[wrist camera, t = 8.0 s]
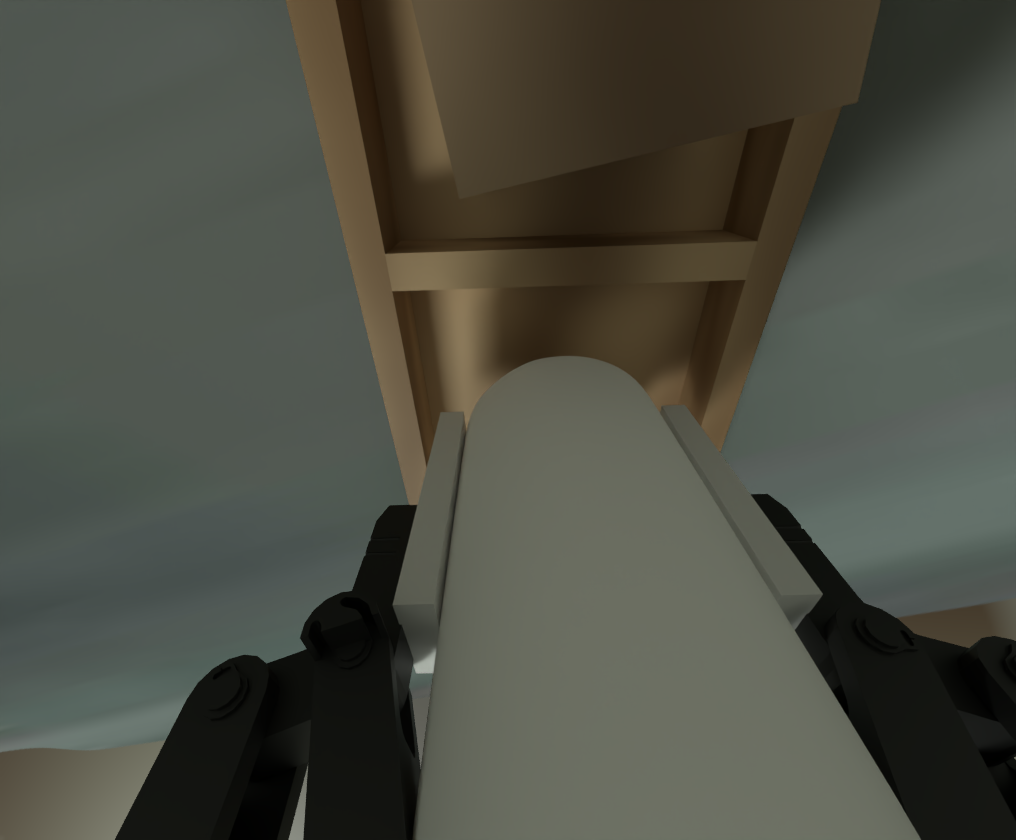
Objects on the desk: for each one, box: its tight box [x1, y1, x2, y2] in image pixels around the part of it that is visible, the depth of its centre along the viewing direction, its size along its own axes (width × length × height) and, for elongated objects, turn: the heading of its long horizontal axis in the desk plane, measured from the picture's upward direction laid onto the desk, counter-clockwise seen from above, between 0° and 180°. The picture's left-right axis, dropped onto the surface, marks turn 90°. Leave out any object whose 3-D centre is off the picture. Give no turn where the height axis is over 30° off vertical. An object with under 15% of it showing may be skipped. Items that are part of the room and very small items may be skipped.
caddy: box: [286, 0, 842, 505], centre depth 12 cm, size 12×23×3 cm, turn 2°
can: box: [412, 356, 921, 840], centre depth 9 cm, size 6×6×12 cm
